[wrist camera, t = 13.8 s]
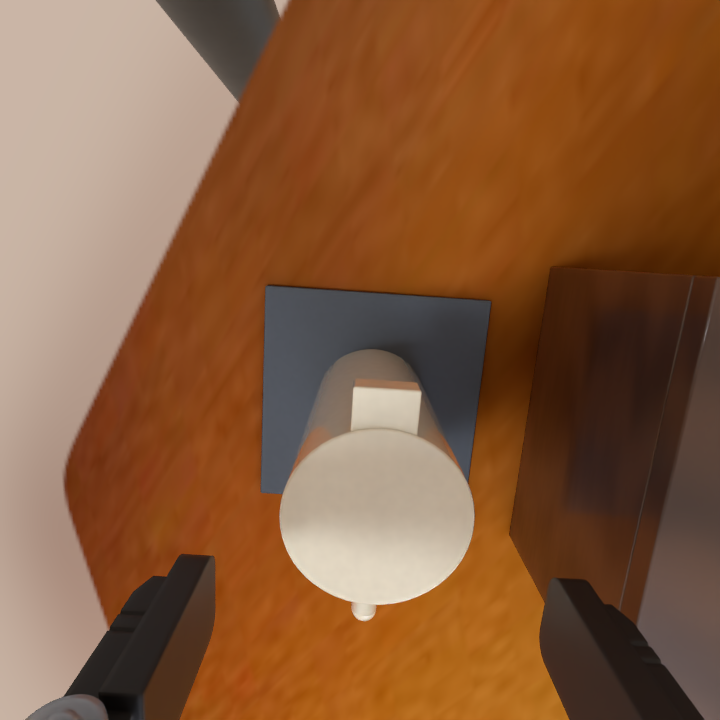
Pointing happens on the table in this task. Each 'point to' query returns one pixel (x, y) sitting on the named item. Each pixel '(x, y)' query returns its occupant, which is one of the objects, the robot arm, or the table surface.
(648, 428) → the shelf
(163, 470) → the table surface
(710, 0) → the table surface
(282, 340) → the mat
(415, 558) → the jug
